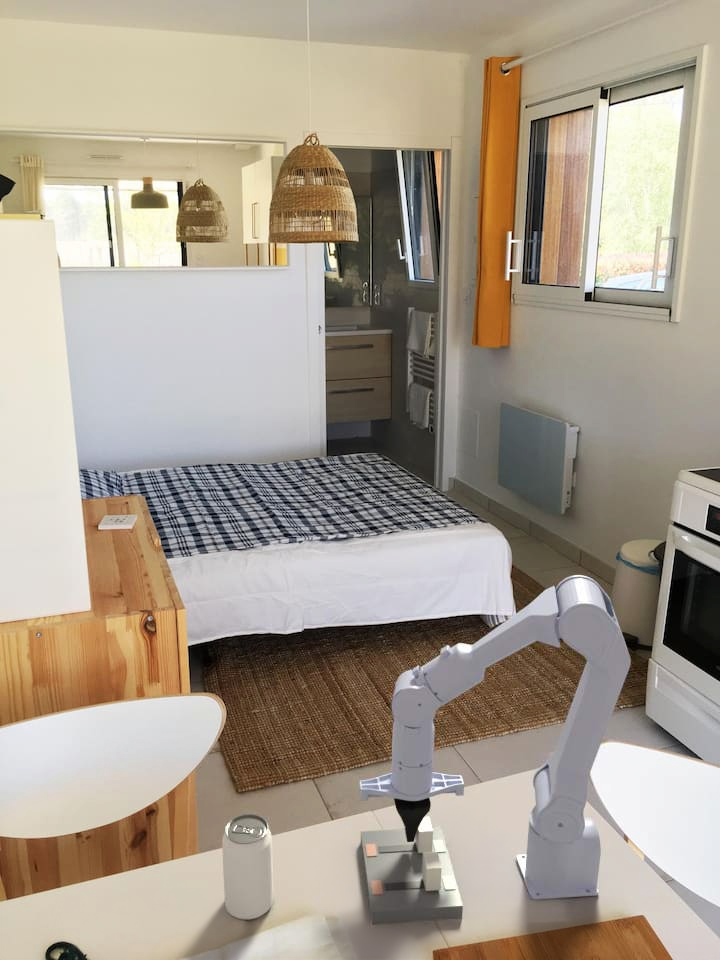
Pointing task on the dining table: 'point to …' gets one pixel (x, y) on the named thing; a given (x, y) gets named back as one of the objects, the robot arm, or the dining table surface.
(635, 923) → the dining table surface
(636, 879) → the dining table surface
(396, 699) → the robot arm
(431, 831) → the block
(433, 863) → the block
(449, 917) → the panel
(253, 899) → the can
